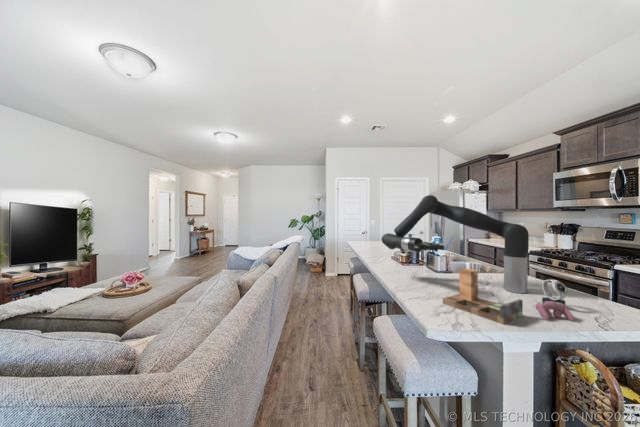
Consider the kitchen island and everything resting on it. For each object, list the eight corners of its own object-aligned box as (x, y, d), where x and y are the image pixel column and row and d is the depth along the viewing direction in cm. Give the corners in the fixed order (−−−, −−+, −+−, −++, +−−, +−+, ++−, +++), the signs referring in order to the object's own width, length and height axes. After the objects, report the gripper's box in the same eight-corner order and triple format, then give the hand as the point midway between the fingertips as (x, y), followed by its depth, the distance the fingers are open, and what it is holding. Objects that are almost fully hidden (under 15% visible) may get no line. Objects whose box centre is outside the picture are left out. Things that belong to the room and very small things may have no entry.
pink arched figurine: (566, 321, 90) (558, 301, 93) (577, 321, 86) (568, 300, 89) (538, 321, 91) (531, 301, 94) (547, 320, 87) (539, 299, 90)
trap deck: (462, 297, 112) (462, 284, 112) (522, 315, 92) (522, 300, 92) (442, 303, 105) (442, 289, 105) (503, 324, 85) (503, 307, 85)
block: (466, 295, 109) (466, 268, 109) (477, 298, 105) (477, 270, 105) (459, 297, 107) (459, 269, 107) (471, 300, 102) (471, 272, 102)
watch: (558, 310, 96) (558, 283, 96) (538, 303, 104) (537, 277, 104) (571, 310, 97) (570, 282, 97) (549, 302, 105) (549, 277, 105)
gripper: (402, 238, 129) (430, 241, 114) (420, 236, 136) (449, 239, 121) (402, 252, 129) (431, 257, 114) (420, 250, 136) (449, 254, 121)
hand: (440, 248), depth 117 cm, fingers open, 4 cm apart
